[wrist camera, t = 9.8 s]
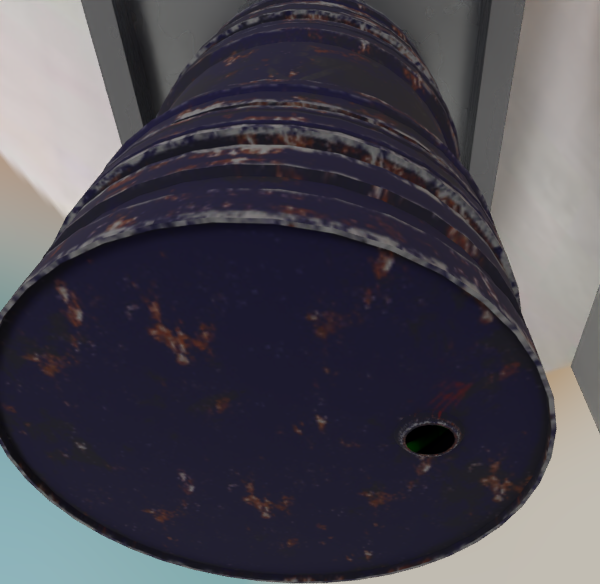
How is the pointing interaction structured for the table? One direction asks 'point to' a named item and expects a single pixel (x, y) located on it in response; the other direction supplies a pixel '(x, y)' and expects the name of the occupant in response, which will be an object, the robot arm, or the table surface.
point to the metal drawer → (392, 3)
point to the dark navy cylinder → (282, 321)
